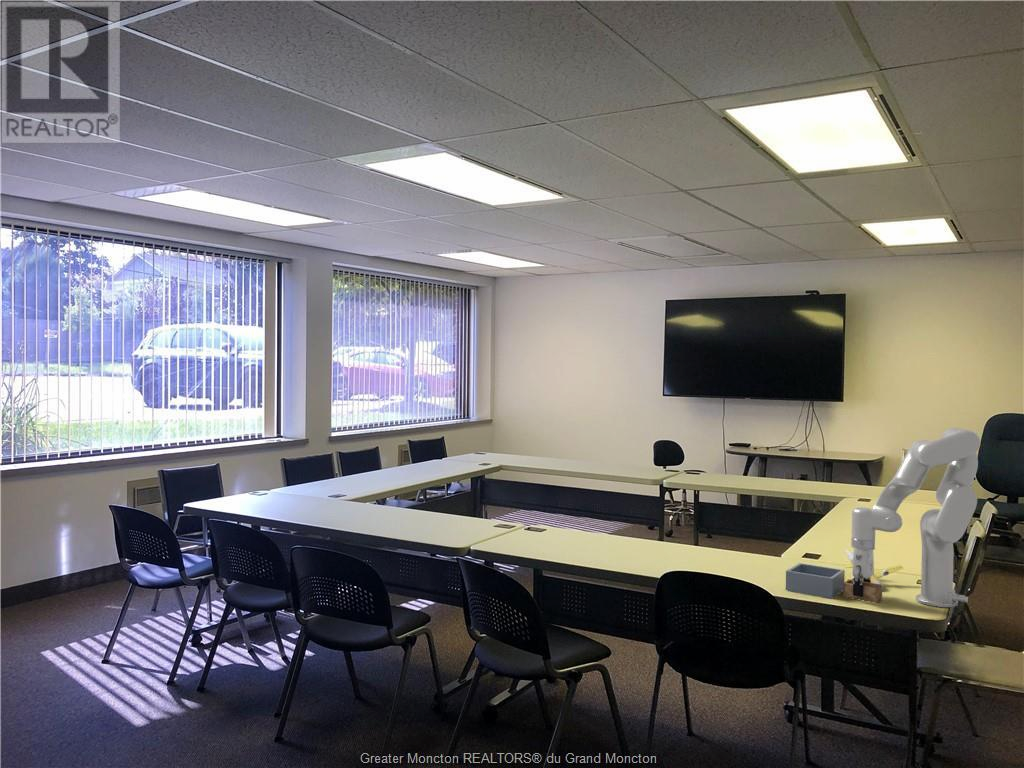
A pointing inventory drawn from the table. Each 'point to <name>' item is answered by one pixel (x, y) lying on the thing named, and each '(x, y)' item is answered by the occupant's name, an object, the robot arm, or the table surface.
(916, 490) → the robot arm
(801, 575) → the blue-grey open box
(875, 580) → the toy jet
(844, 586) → the walnut crate
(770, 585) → the table surface
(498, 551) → the table surface
